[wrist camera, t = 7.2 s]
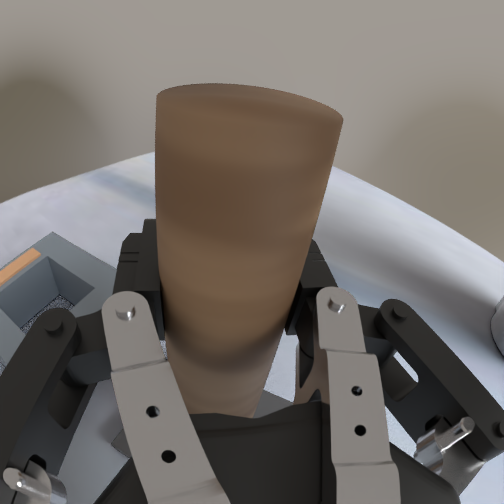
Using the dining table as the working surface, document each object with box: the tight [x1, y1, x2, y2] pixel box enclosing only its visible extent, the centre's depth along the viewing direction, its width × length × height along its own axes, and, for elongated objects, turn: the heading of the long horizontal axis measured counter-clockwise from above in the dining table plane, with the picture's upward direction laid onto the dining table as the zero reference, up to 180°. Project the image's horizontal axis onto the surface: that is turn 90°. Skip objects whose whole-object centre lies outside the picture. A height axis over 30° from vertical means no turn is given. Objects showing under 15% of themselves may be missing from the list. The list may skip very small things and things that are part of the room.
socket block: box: [0, 232, 117, 368], centre depth 19 cm, size 10×10×4 cm
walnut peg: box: [155, 83, 343, 418], centre depth 11 cm, size 4×4×14 cm
